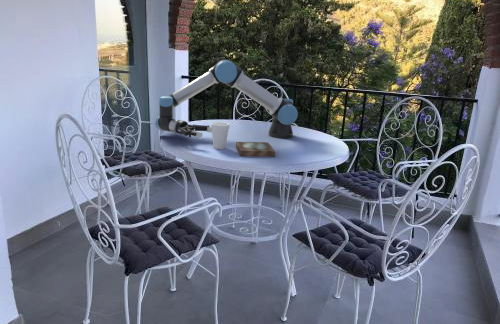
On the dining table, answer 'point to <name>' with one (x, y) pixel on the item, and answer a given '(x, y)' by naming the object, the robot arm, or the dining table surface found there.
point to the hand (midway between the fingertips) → (209, 133)
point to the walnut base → (255, 149)
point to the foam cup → (219, 134)
